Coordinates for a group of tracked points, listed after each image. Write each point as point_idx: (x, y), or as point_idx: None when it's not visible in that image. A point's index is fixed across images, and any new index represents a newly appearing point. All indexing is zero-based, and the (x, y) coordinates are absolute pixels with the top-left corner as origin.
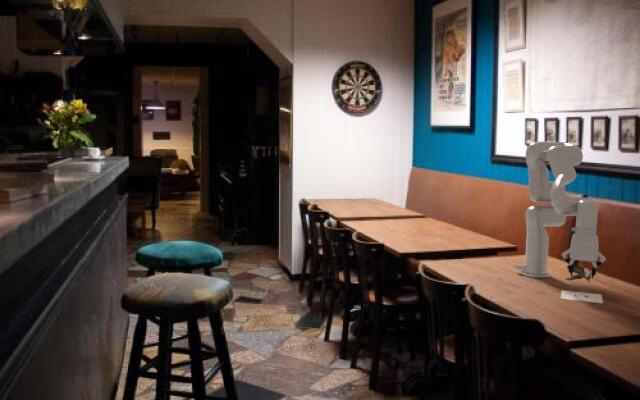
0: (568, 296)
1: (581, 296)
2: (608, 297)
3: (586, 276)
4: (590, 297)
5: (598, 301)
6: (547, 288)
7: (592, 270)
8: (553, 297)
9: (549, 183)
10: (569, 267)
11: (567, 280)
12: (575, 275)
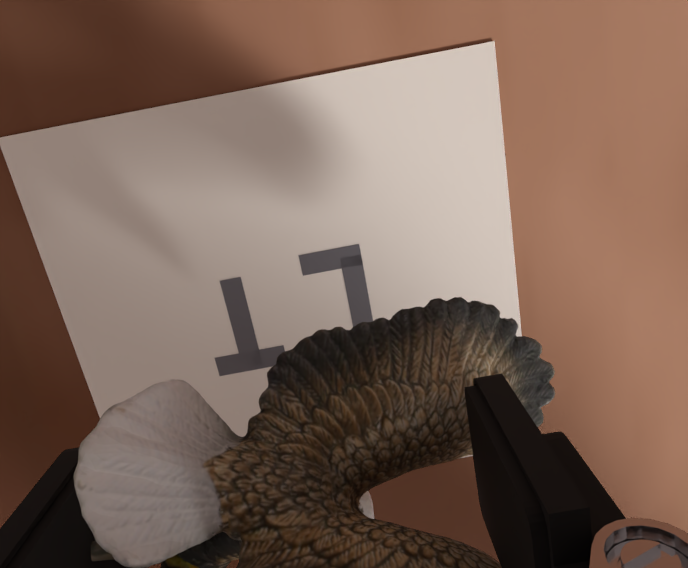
0: (424, 215)
1: (293, 310)
2: (45, 453)
3: (180, 398)
4: (197, 328)
5: (68, 194)
6: (676, 443)
7: (16, 556)
8: (585, 58)
9: None
10: (604, 502)
11: (512, 318)
12: (406, 417)
